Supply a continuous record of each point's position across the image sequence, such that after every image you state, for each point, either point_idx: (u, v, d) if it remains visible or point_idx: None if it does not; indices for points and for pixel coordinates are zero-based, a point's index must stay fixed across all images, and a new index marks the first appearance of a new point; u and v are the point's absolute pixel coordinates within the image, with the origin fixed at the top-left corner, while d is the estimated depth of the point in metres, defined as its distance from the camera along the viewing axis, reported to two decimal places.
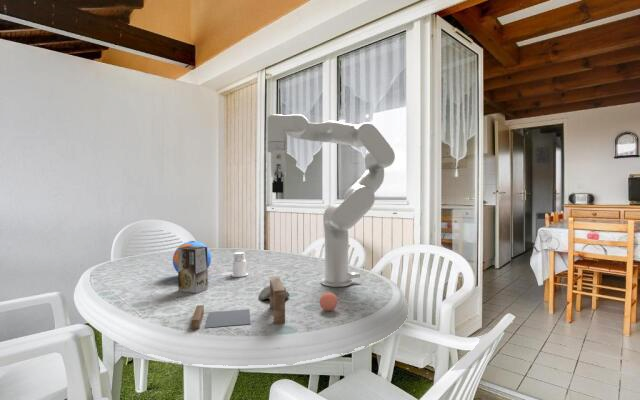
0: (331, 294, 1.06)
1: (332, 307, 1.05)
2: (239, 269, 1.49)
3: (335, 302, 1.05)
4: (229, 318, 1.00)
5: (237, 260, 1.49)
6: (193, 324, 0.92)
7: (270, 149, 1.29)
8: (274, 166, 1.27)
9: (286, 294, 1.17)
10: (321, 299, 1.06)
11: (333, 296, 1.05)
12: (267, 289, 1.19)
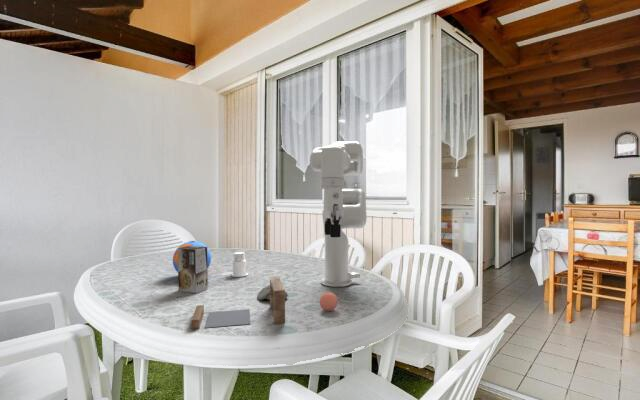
0: (331, 294, 1.06)
1: (332, 307, 1.05)
2: (239, 269, 1.49)
3: (335, 302, 1.05)
4: (229, 318, 1.00)
5: (237, 260, 1.49)
6: (193, 324, 0.92)
7: (325, 186, 1.11)
8: (330, 206, 1.09)
9: None
10: (321, 299, 1.06)
11: (333, 296, 1.05)
12: (265, 289, 1.19)
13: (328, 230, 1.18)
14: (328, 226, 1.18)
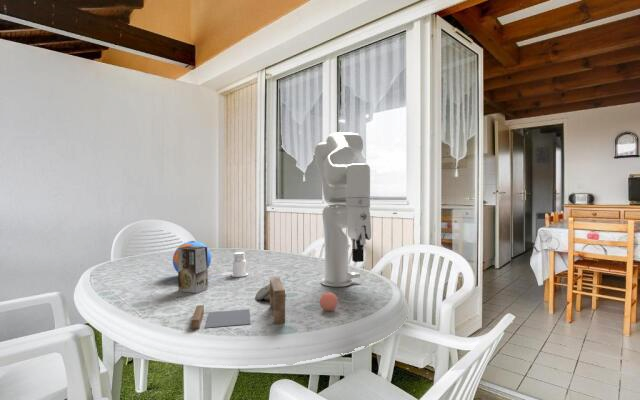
0: (331, 294, 1.06)
1: (332, 307, 1.05)
2: (239, 269, 1.49)
3: (335, 302, 1.05)
4: (229, 318, 1.00)
5: (237, 260, 1.49)
6: (193, 324, 0.92)
7: (352, 206, 1.05)
8: (358, 228, 1.03)
9: None
10: (321, 299, 1.06)
11: (333, 296, 1.05)
12: (264, 289, 1.19)
13: None
14: None
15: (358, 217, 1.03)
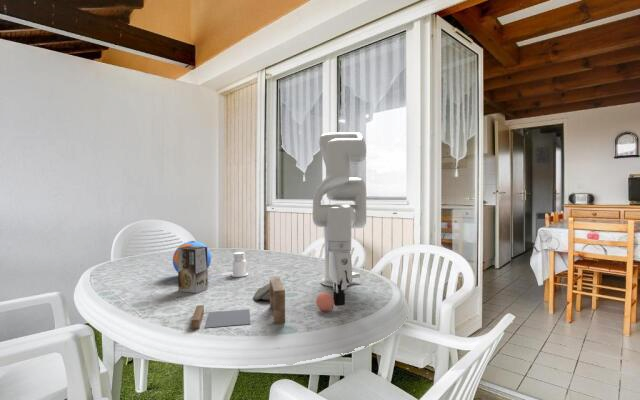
0: (326, 295, 1.05)
1: (329, 307, 1.04)
2: (239, 269, 1.49)
3: (331, 302, 1.05)
4: (229, 318, 1.00)
5: (237, 260, 1.49)
6: (193, 324, 0.92)
7: (333, 250, 1.04)
8: (339, 273, 1.02)
9: None
10: (317, 301, 1.05)
11: (329, 296, 1.05)
12: (261, 289, 1.19)
13: None
14: None
15: (339, 262, 1.02)
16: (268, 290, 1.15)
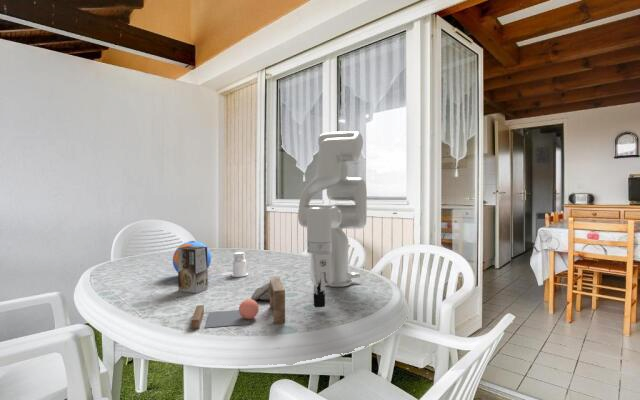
0: (241, 314, 0.98)
1: (252, 308, 0.98)
2: (239, 269, 1.49)
3: (245, 308, 0.97)
4: (229, 318, 1.00)
5: (237, 260, 1.49)
6: (193, 324, 0.92)
7: (311, 252, 1.03)
8: (317, 275, 1.01)
9: None
10: None
11: (241, 312, 0.98)
12: (259, 289, 1.19)
13: None
14: None
15: (317, 263, 1.01)
16: (266, 290, 1.15)
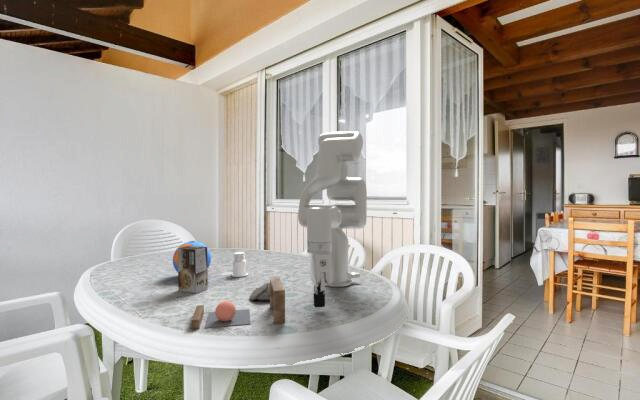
0: (233, 315, 0.97)
1: (221, 315, 0.95)
2: (239, 269, 1.49)
3: (225, 319, 0.96)
4: None
5: (237, 260, 1.49)
6: (193, 324, 0.92)
7: (311, 252, 1.03)
8: (317, 275, 1.01)
9: None
10: (231, 303, 0.98)
11: (231, 317, 0.97)
12: (258, 289, 1.19)
13: None
14: None
15: (317, 263, 1.01)
16: (264, 290, 1.15)
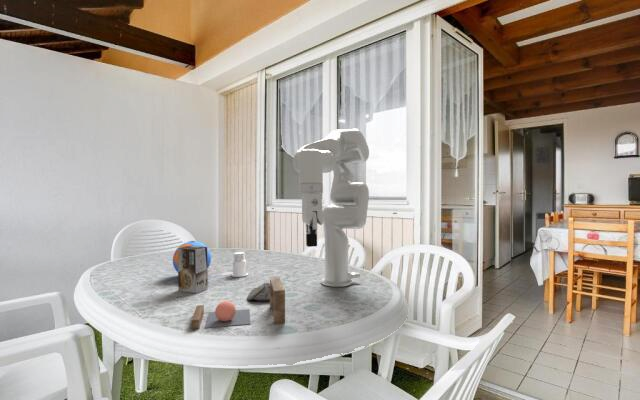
0: (233, 315, 0.97)
1: (221, 315, 0.95)
2: (239, 269, 1.49)
3: (225, 319, 0.96)
4: None
5: (237, 260, 1.49)
6: (193, 324, 0.92)
7: (303, 192, 1.06)
8: (309, 214, 1.05)
9: None
10: (231, 303, 0.98)
11: (231, 317, 0.97)
12: (255, 289, 1.19)
13: None
14: None
15: (309, 203, 1.05)
16: (261, 290, 1.15)
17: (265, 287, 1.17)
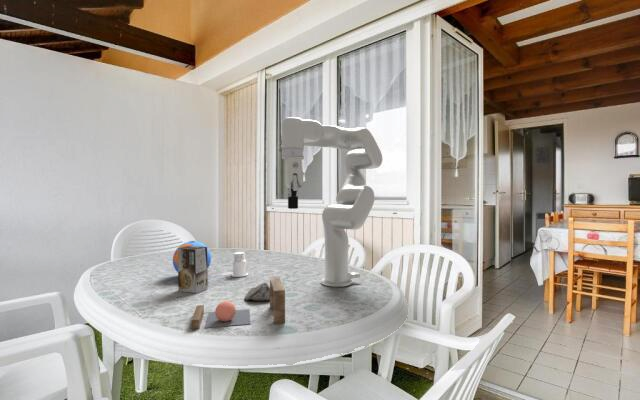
0: (233, 315, 0.97)
1: (221, 315, 0.95)
2: (239, 269, 1.49)
3: (225, 319, 0.96)
4: None
5: (237, 260, 1.49)
6: (193, 324, 0.92)
7: (285, 156, 1.14)
8: (290, 176, 1.12)
9: None
10: (231, 303, 0.98)
11: (231, 317, 0.97)
12: (252, 289, 1.19)
13: None
14: None
15: (290, 165, 1.13)
16: (258, 290, 1.15)
17: (262, 287, 1.16)
